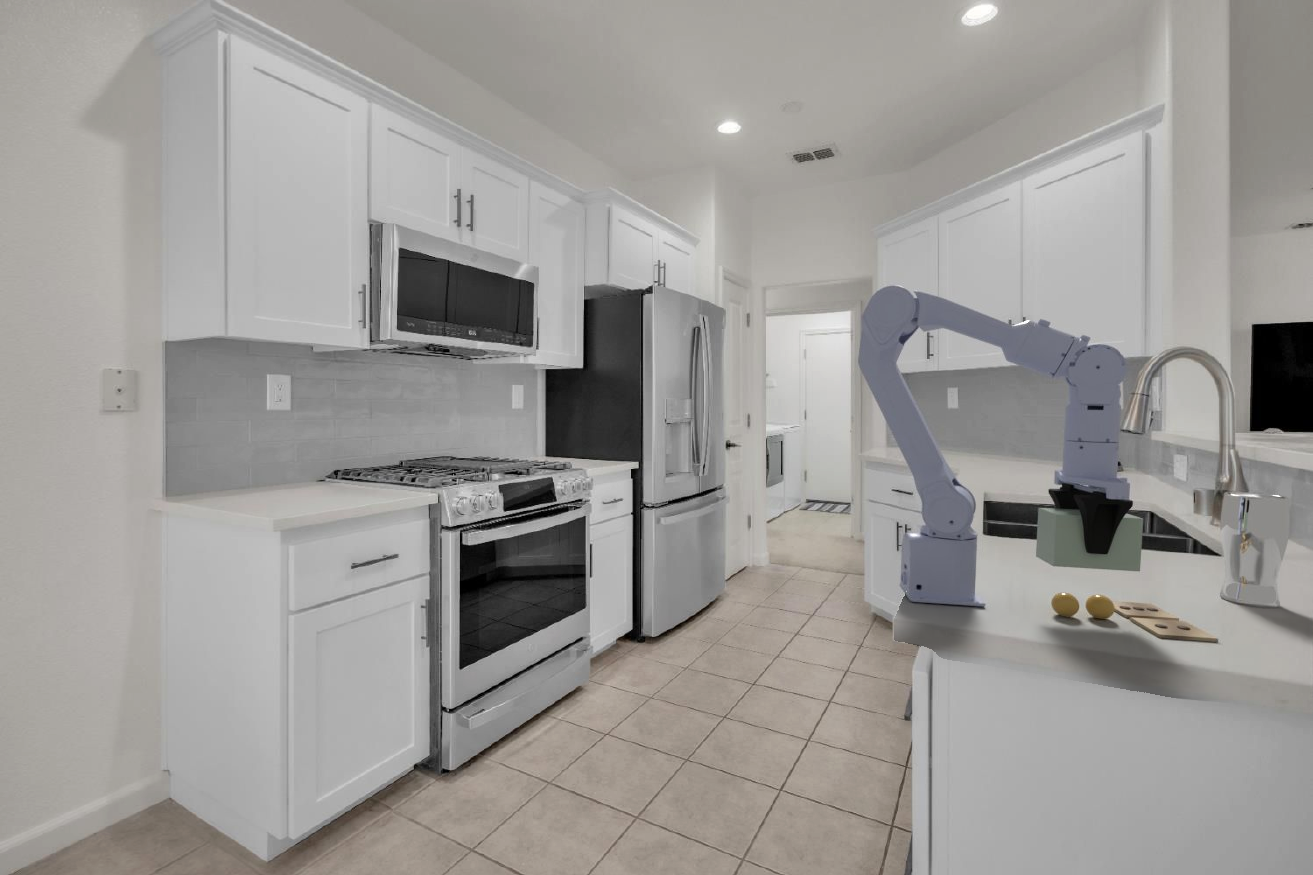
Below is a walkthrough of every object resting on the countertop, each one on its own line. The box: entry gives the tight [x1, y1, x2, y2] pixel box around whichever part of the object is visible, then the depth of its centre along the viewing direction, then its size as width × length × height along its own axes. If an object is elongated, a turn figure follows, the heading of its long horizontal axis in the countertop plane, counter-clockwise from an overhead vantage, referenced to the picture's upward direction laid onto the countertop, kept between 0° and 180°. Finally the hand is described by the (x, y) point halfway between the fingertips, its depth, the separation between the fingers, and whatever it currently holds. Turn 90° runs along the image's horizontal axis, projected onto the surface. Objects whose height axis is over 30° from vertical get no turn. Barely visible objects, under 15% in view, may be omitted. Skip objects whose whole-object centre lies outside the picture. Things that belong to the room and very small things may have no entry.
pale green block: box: [1035, 507, 1144, 572], centre depth 79 cm, size 10×5×6 cm, turn 80°
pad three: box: [1111, 600, 1180, 621], centre depth 82 cm, size 6×6×1 cm
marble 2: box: [1085, 594, 1115, 620], centre depth 79 cm, size 3×3×3 cm
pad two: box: [1129, 617, 1219, 643], centre depth 75 cm, size 6×6×1 cm
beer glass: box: [1219, 491, 1291, 609], centre depth 87 cm, size 7×7×15 cm
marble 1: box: [1051, 591, 1080, 618], centre depth 80 cm, size 3×3×3 cm
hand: (1085, 548), depth 79 cm, fingers closed on pale green block, 5 cm apart
